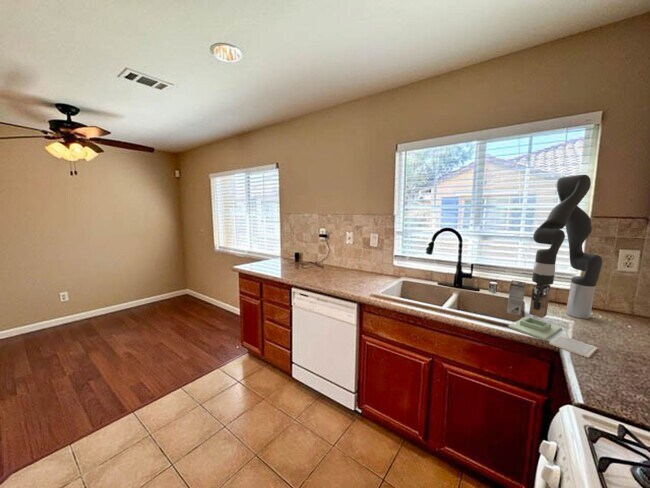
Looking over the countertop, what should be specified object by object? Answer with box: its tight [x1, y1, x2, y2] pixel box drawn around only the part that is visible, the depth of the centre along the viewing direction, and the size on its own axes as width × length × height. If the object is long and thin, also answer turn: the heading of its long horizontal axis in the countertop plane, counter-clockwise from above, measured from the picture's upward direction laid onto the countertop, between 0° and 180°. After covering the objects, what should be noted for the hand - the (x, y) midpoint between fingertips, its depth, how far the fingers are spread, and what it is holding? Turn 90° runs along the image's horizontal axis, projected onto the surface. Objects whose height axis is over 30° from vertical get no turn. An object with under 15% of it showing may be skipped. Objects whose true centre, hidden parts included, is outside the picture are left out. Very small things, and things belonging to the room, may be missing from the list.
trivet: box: [548, 334, 598, 359], centre depth 109 cm, size 12×12×1 cm
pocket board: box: [507, 315, 563, 341], centre depth 124 cm, size 20×14×3 cm
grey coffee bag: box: [506, 279, 526, 316], centre depth 142 cm, size 9×6×16 cm
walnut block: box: [529, 294, 550, 319], centre depth 122 cm, size 5×5×10 cm
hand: (538, 307), depth 123 cm, fingers closed on walnut block, 5 cm apart
